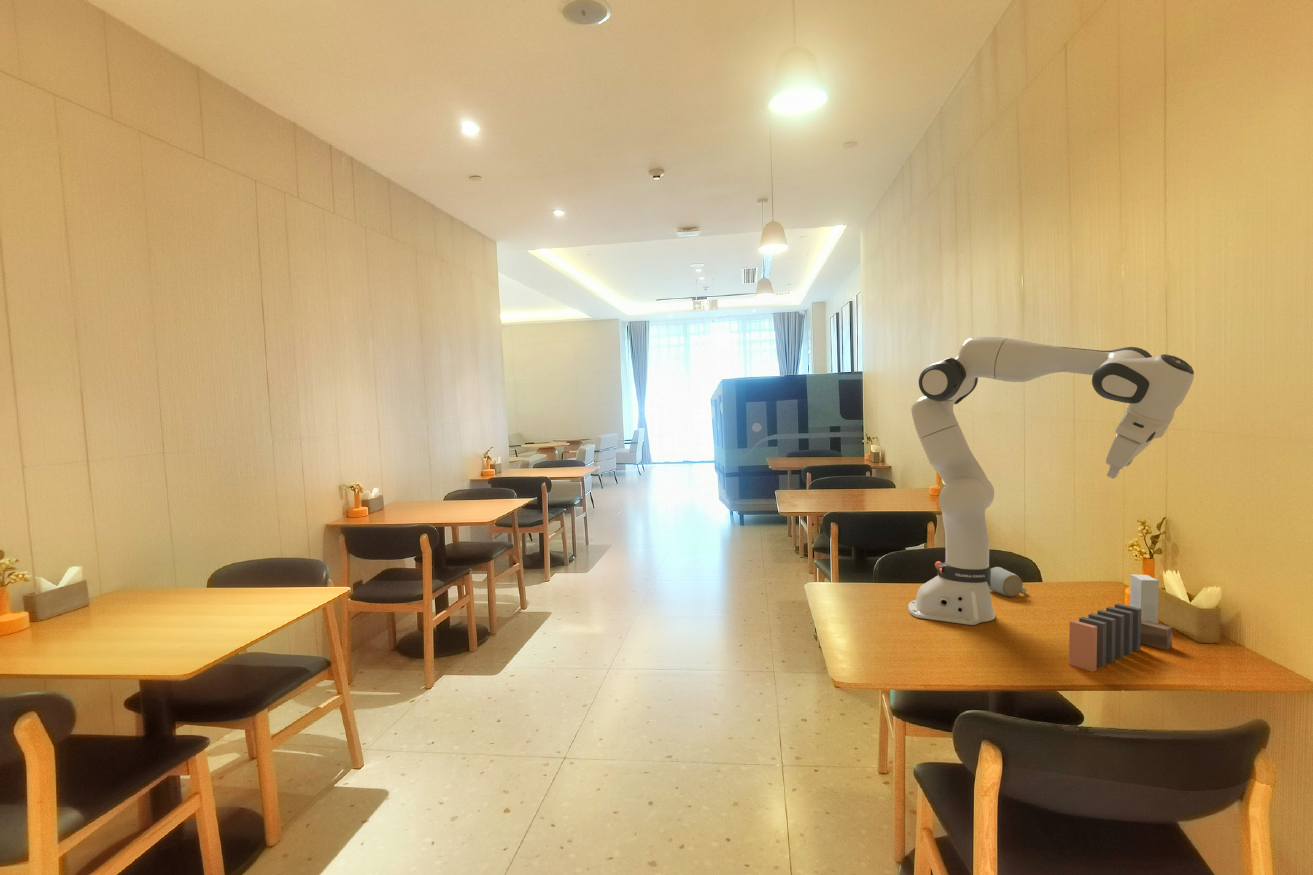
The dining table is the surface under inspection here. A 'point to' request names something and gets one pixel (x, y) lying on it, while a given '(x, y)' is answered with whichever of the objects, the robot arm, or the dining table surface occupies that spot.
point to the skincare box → (1145, 596)
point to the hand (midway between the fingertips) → (1118, 470)
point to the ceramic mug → (1006, 582)
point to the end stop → (1156, 635)
